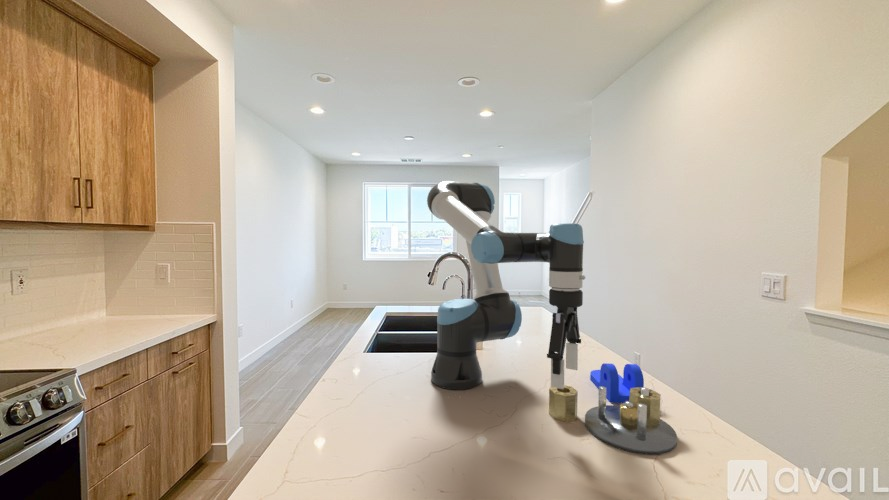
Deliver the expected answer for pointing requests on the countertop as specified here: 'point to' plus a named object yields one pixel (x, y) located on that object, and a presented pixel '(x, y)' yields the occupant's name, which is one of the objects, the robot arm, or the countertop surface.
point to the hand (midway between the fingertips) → (565, 377)
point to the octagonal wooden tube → (563, 403)
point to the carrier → (632, 423)
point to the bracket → (617, 381)
